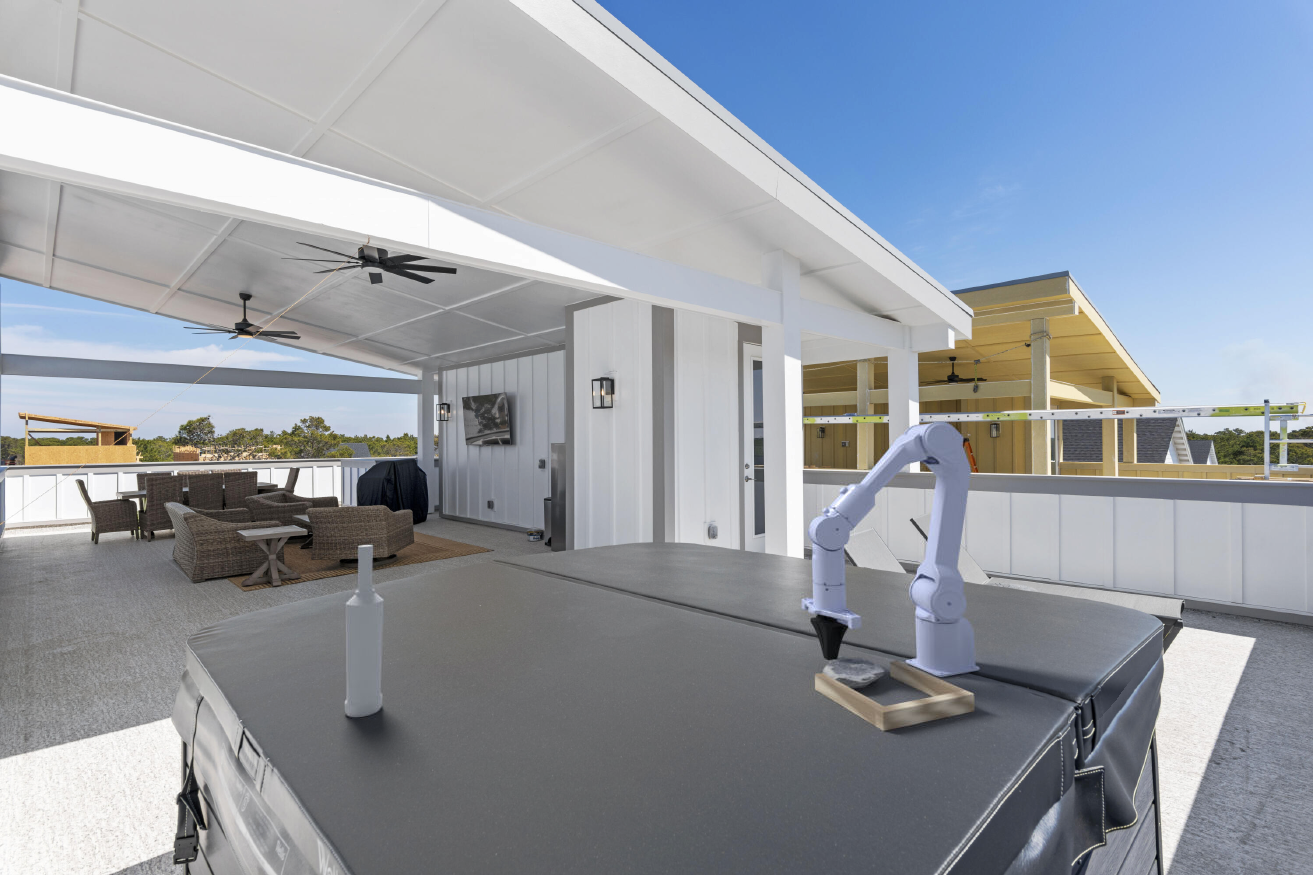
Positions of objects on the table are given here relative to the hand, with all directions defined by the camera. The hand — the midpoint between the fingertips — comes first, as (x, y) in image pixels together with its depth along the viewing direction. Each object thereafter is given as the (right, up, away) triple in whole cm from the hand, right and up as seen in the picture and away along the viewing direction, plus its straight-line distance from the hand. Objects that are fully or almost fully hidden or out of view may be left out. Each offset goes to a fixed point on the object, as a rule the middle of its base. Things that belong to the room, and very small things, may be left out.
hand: (830, 658), depth 103 cm
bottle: (-76, -2, -16) cm, 78 cm away
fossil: (+2, -2, -6) cm, 7 cm away
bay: (+5, -1, -13) cm, 14 cm away
